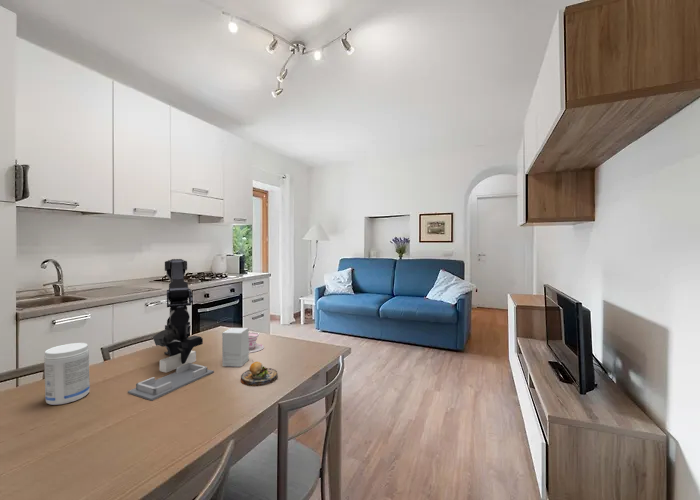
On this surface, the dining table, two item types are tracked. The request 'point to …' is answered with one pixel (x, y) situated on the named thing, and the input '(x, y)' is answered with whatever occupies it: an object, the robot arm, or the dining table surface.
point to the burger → (258, 375)
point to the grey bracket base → (170, 381)
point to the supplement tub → (66, 373)
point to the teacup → (254, 342)
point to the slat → (176, 362)
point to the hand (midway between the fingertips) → (178, 362)
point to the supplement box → (235, 347)
